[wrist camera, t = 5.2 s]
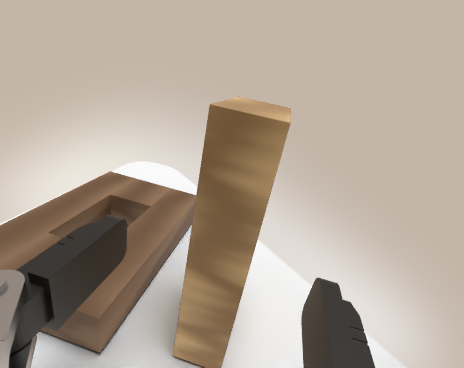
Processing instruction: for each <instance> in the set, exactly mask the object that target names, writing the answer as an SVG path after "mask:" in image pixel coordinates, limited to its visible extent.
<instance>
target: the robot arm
mask: <svg viewBox="0 0 464 368" xmlns="http://www.w3.org/2000/svg"><path fill="white" fill-rule="evenodd" d="M126 250H127V221H126V220H125V219H122V218H118V217H115V216H112V215H106V216H104V217H103V218H101V219H100V220H99V221H97V222H96V223H89V224H86V225H84V226H81V227H78V228H77V229H75V230H74V231H72V232H71V233H69V234H68V235H66V237H63V238H62V239H61V240H59V241H58V242H57V243H56V244H53V245H52V246H50V247H49V248H47V249H46V250H45V251H43V252H42V253H40V254H39V255H37V256H36V257H34V258H33V259H31V260H30V261H29V262H27V263H26V264H24V265H23V266H21V267H20V268H18V269H17V270H0V368H31V363H32V359H33V354H34V349H35V345H36V340H37V336H36V334H37V333H38V332H39V331H40V330H41V329H42V328H43V327H47V328H50V329H52V330H55V331H57V330H58V329H59V328H60V327H61V326H62V325H63V324H64V323H65V322H66V321H67V319H68V318H69V317H70V316H71V315H72V314H73V313H74V312H75V311H76V310H77V309H78V308H79V307H80V306H81V305H82V303H83V302H84V301H85V300H86V299H87V298H88V297H89V296H90V295H91V294H92V293H93V292H94V291H95V290H96V289H97V287H98V286H99V285H100V284H101V283H102V282H103V281H104V280H105V279H106V278H107V277H108V276H109V275H110V274H111V273H112V271H113V270H114V269H115V268H116V267H117V266H118V265H119V264H120V263H121V262H122V260H123V258H124V256H125V254H126ZM302 343H303V364H304V368H375V365H374V362H373V359H372V355H371V352H370V349H369V346H368V345H367V343H368V342H367V339H366V335H365V333H364V329H363V325H362V322H361V319H360V316H359V314H358V313H357V311H356V310H355V308H354V307H353V305H352V304H351V303H350V302H348V301H345V300H342V296H341V292H340V287H339V285H338V284H337V283H334V282H331V281H328V280H324V279H321V278H316V280H315V281H314V284H313V286H312V288H311V291H310V293H309V295H308V298H307V300H306V302H305V304H304V307H303V312H302Z"/></svg>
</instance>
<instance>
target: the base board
mask: <svg viewBox="0 0 464 368" xmlns="http://www.w3.org/2000/svg"><path fill="white" fill-rule="evenodd" d="M195 202H196V195H193V194H189V193H186V192H182V191H178V190H175V189H171V188H168V187H164V186H160V185H157V184H153V183H150V182H146V181H142V180H139V179H135V178H132V177H128V176H124V175H121V174H117V173H114V172H108V173H106V174H104V175H102V176H100V177H98V178H96V179H94V180H92V181H90V182H88V183H86V184H84V185H82V186H80V187H78V188H76V189H74V190H72V191H69V192H67V193H65V194H63V195H61V196H59V197H57V198H55V199H53V200H51V201H49V202H47V203H45V204H43V205H41V206H39V207H37V208H35V209H33V210H31V211H29V212H27V213H25V214H23V215H21V216H18V217H16V218H14V219H12V220H10V221H8V222H6V223H4V224H2V225H0V270H17V269H18V268H20V267H21V266H23V265H24V264H26V263H27V262H29V261H30V260H31V259H33V258H34V257H36V256H37V255H39V254H40V253H42V252H43V251H45V250H46V249H47V248H49V247H50V246H52V245H53V244H56V243H57V242H58V241H59V240H61V239H62V238H63V237H66V235H68V234H69V233H71V232H72V231H74V230H75V229H77V228H78V227H81V226H84V225H86V224H89V223H96V222H97V221H99V220H100V219H101V218H103V217H104V216H106V215H112V216H115V217H118V218H122V219H125V220H126V221H127V225H129V226H128V227H127V250H126V254H125V256H124V258H123V260H122V262H121V263H120V264H119V265H118V266H117V267H116V268H115V269H114V270H113V271H112V273H111V274H110V275H109V276H108V277H107V278H106V279H105V280H104V281H103V282H102V283H101V284H100V285H99V286H98V287H97V289H96V290H95V291H94V292H93V293H92V294H91V295H90V296H89V297H88V298H87V299H86V300H85V301H84V302H83V303H82V305H81V306H80V307H79V308H78V309H77V310H76V311H75V312H74V313H73V314H72V315H71V316H70V317H69V318H68V319H67V321H66V322H65V323H64V324H63V325H62V326H61V327H60V328H59V329H58V330H57V331H55V330H52V329H50V328H47V327H43V328H42V329H41V331H43V332H46V333H49V334H51V335H54V336H56V337H59V338H62V339H64V340H67V341H70V342H72V343H75V344H78V345H80V346H83V347H85V348H88V349H91V350H93V351H96V352H99V353H101V352H102V350H103V349H104V347H105V346H106V344H107V343H108V342H109V340H110V339H111V337H112V336H113V335H114V333H115V332H116V330H117V329H118V327H119V326H120V325H121V323H122V322H123V320H124V319H125V318H126V316H127V315H128V313H129V312H130V310H131V309H132V308H133V306H134V305H135V303H136V302H137V301H138V299H139V298H140V296H141V295H142V293H143V292H144V291H145V289H146V288H147V286H148V285H149V284H150V282H151V281H152V279H153V278H154V276H155V275H156V274H157V272H158V271H159V269H160V268H161V267H162V265H163V264H164V262H165V261H166V259H167V258H168V257H169V255H170V254H171V252H172V251H173V250H174V248H175V247H176V245H177V244H178V242H179V241H180V240H181V238H182V237H183V235H184V234H185V233H186V231H187V230H188V228H189V227H190V225H191V224H192V223H193V216H194V209H195Z"/></svg>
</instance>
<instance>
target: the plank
mask: <svg viewBox="0 0 464 368" xmlns="http://www.w3.org/2000/svg"><path fill="white" fill-rule="evenodd" d="M290 123H291V108H287V107H283V106H278V105H274V104H269V103H264V102H259V101H256V100H251V99H246V98H242V97H236V98H232V99H228V100H224V101H221V102H217V103H213V104H210V107H209V114H208V120H207V128H206V134H205V141H204V148H203V154H202V161H201V168H200V175H199V182H198V188H197V195H196V202H195V209H194V216H193V223H192V229H191V236H190V243H189V250H188V257H187V263H186V270H185V277H184V284H183V291H182V297H181V304H180V311H179V318H178V325H177V332H176V338H175V345H174V352H173V356H176V357H178V358H181V359H184V360H186V361H189V362H192V363H195V364H197V365H200V366H203V367H206V368H221V366H222V363H223V359H224V356H225V352H226V349H227V345H228V342H229V338H230V335H231V331H232V328H233V324H234V321H235V317H236V313H237V310H238V306H239V303H240V299H241V296H242V292H243V289H244V285H245V282H246V278H247V275H248V271H249V268H250V264H251V261H252V257H253V254H254V250H255V246H256V243H257V239H258V236H259V232H260V229H261V225H262V222H263V218H264V215H265V211H266V207H267V204H268V200H269V197H270V194H271V190H272V186H273V183H274V179H275V176H276V172H277V169H278V165H279V162H280V158H281V155H282V151H283V148H284V144H285V140H286V137H287V133H288V130H289V127H290Z"/></svg>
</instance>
